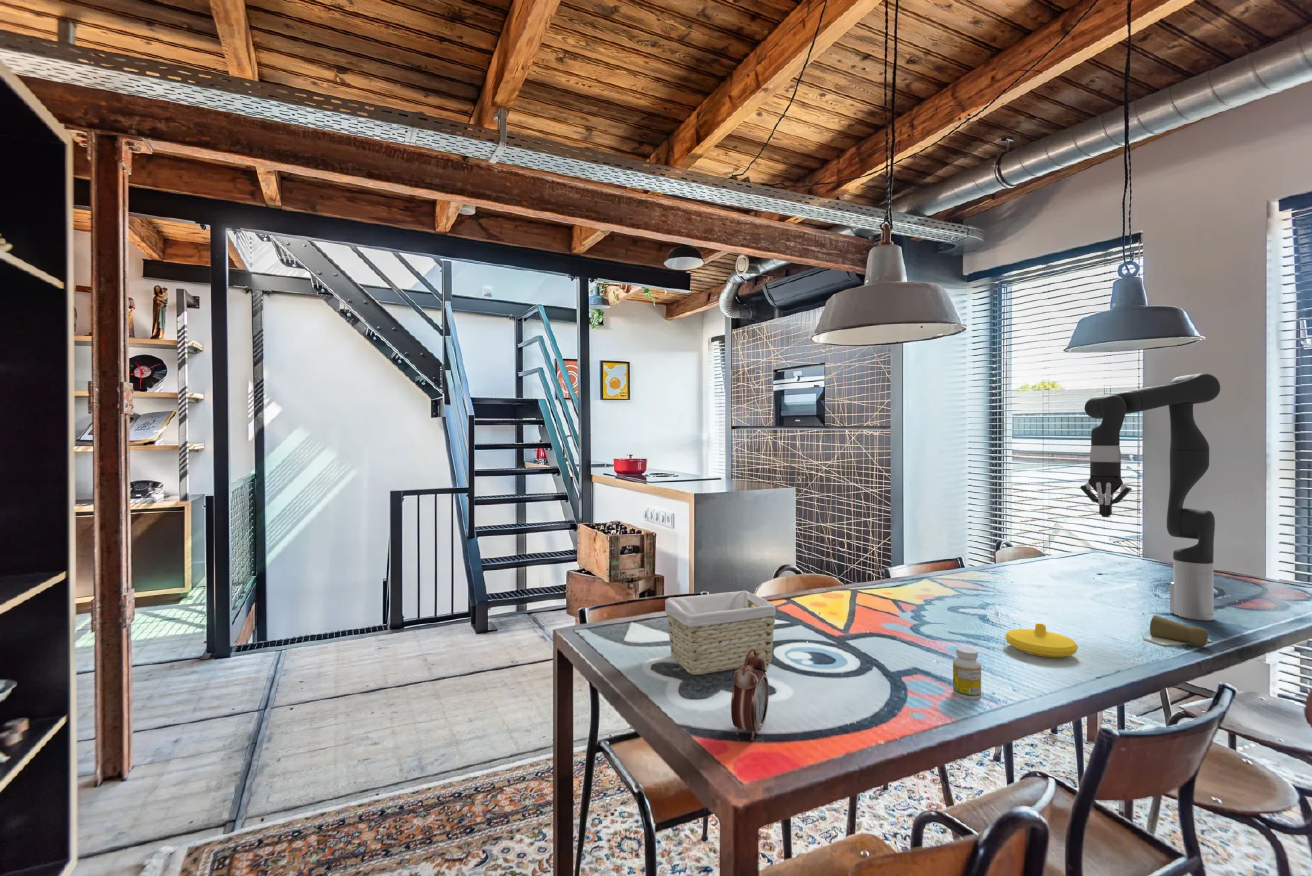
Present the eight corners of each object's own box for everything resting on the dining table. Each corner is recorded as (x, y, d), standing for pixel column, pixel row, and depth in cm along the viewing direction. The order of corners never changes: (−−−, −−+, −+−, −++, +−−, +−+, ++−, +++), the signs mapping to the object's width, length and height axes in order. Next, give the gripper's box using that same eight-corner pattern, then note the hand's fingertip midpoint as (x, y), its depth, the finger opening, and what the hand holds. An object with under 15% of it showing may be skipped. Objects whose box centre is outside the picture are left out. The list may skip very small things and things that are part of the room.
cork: (1154, 639, 164) (1207, 653, 155) (1148, 633, 161) (1201, 647, 152) (1159, 619, 166) (1212, 631, 156) (1153, 612, 163) (1205, 624, 153)
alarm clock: (754, 747, 104) (754, 662, 104) (728, 741, 106) (728, 658, 106) (769, 721, 114) (770, 643, 114) (745, 716, 116) (745, 639, 116)
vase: (1066, 645, 157) (1066, 619, 157) (1088, 667, 142) (1088, 637, 142) (998, 639, 162) (998, 613, 162) (1013, 659, 147) (1013, 631, 147)
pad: (1142, 639, 162) (1142, 637, 162) (1189, 635, 165) (1189, 633, 165) (1163, 646, 156) (1164, 644, 156) (1212, 642, 159) (1212, 640, 159)
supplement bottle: (978, 702, 122) (978, 656, 122) (950, 695, 126) (949, 650, 126) (983, 694, 126) (983, 649, 126) (956, 687, 130) (956, 643, 130)
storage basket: (687, 679, 134) (687, 614, 134) (662, 655, 149) (662, 596, 150) (779, 666, 142) (778, 604, 142) (746, 644, 157) (746, 589, 158)
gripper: (1135, 460, 179) (1135, 518, 178) (1083, 459, 189) (1083, 514, 189) (1129, 461, 174) (1129, 520, 174) (1075, 460, 184) (1076, 515, 184)
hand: (1105, 516), depth 181 cm, fingers closed
